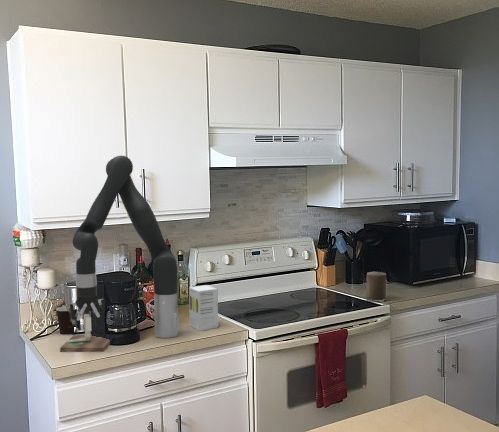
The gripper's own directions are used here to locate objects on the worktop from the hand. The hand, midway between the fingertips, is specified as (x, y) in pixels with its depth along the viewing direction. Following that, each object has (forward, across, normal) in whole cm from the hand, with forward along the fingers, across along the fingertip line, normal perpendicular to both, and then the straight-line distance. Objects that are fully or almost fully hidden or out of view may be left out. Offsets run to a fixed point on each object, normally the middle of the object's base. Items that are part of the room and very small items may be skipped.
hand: (87, 327), depth 221 cm
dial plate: (+7, 0, 0) cm, 7 cm away
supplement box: (+7, -49, +4) cm, 49 cm away
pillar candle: (+7, -144, +12) cm, 145 cm away
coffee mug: (+7, 0, -22) cm, 23 cm away
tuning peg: (+5, +3, -1) cm, 6 cm away
